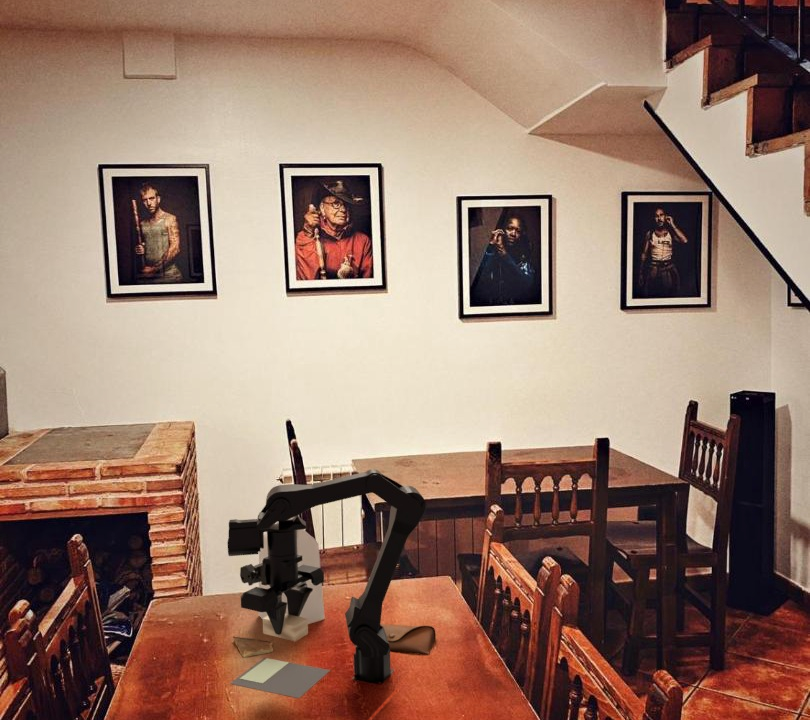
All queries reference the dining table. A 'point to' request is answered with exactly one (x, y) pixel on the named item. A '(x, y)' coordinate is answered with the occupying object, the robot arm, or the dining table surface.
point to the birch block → (288, 627)
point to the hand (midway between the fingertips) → (285, 630)
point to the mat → (280, 677)
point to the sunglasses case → (410, 638)
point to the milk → (314, 603)
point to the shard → (252, 646)
